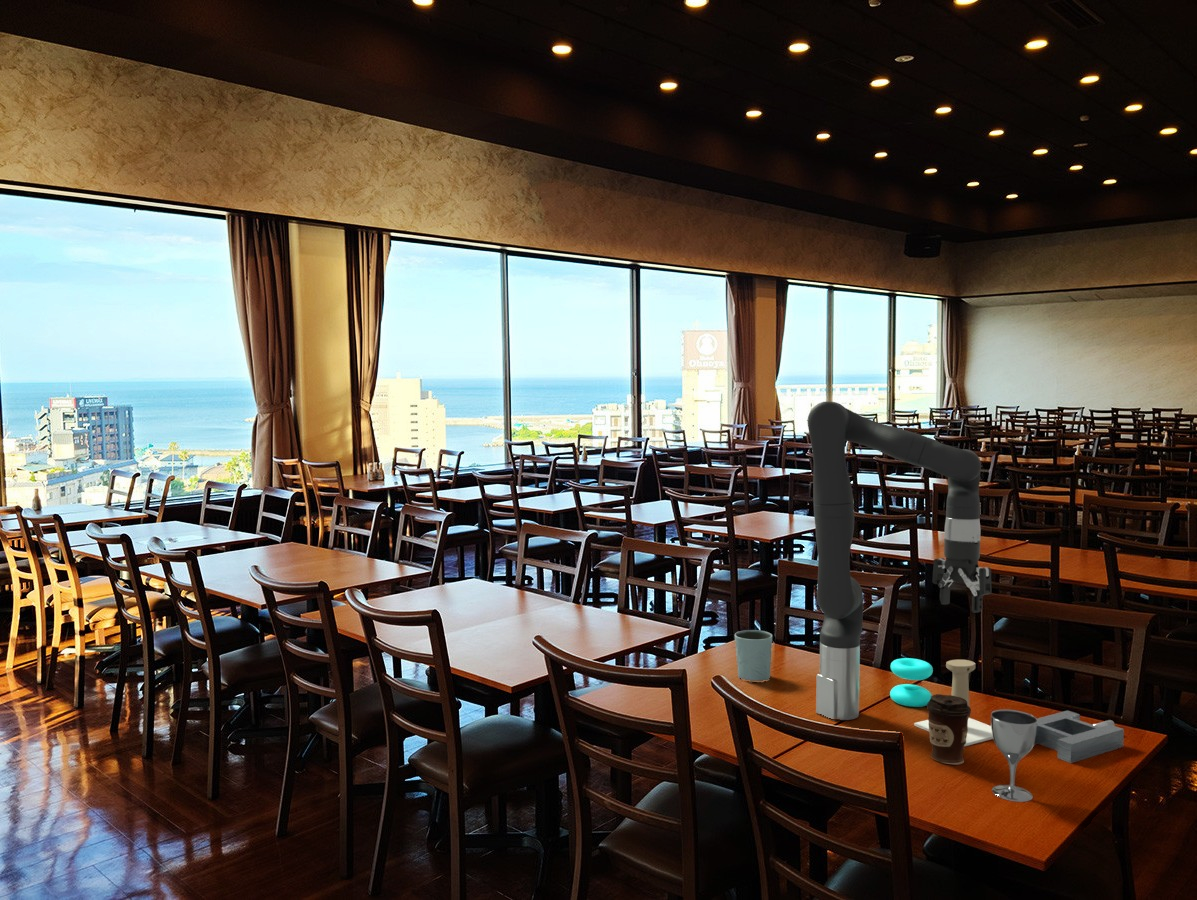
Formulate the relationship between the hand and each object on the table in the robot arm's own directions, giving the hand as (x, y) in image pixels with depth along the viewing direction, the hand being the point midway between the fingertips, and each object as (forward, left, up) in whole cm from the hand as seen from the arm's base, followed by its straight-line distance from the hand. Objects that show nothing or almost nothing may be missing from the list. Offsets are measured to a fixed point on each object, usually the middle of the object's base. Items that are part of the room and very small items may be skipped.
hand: (960, 608), depth 199 cm
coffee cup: (-16, -11, -28) cm, 34 cm away
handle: (0, -1, -28) cm, 28 cm away
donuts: (+5, +18, -28) cm, 34 cm away
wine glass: (-18, -28, -28) cm, 44 cm away
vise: (+17, -18, -28) cm, 37 cm away
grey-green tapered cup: (-18, +52, -28) cm, 62 cm away
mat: (0, -1, -28) cm, 28 cm away
